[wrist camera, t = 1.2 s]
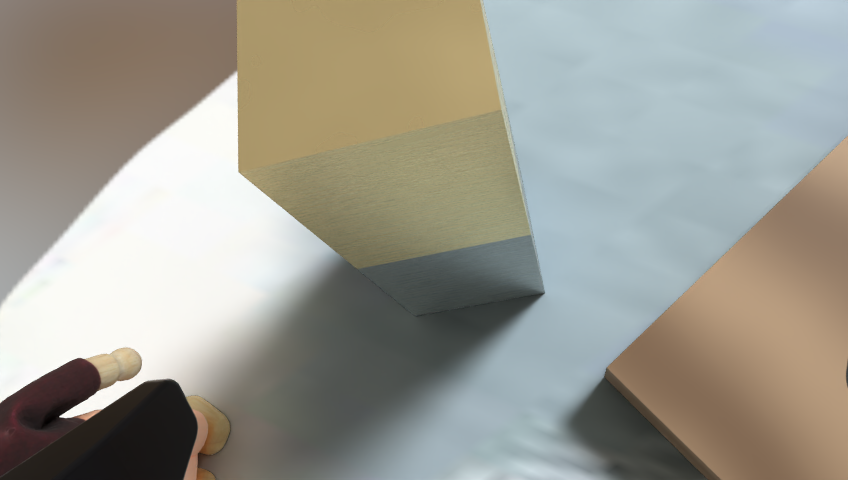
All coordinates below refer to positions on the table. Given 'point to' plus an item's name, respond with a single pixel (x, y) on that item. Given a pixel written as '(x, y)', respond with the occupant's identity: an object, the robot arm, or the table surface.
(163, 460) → the robot arm
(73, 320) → the table surface
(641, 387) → the walnut plinth
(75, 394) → the grandmother figurine
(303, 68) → the yellow grey tall block
